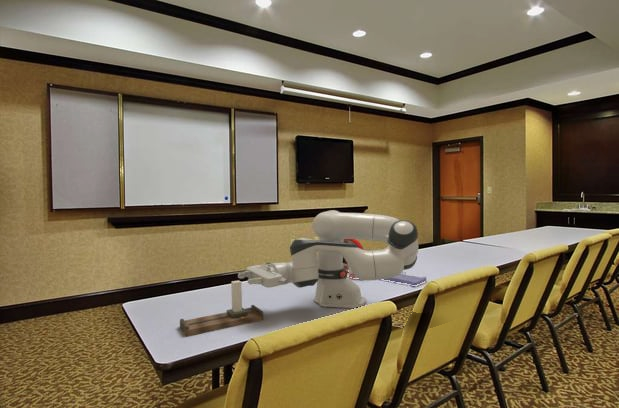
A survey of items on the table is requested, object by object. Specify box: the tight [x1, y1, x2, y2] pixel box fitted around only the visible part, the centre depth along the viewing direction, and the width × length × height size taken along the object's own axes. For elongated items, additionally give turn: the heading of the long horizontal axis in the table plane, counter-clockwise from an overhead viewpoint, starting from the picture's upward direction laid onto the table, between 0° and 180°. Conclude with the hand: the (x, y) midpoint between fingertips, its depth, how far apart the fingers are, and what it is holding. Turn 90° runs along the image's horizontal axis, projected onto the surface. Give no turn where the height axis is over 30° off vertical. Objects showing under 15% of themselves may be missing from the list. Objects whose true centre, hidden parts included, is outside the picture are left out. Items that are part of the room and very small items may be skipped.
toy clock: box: [343, 239, 365, 270], centre depth 210 cm, size 20×6×20 cm, turn 70°
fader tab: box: [226, 280, 248, 318], centre depth 133 cm, size 6×6×12 cm
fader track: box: [179, 304, 264, 337], centre depth 131 cm, size 28×10×3 cm, turn 121°
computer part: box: [384, 271, 427, 285], centre depth 189 cm, size 30×4×15 cm
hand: (243, 278), depth 133 cm, fingers open, 8 cm apart
